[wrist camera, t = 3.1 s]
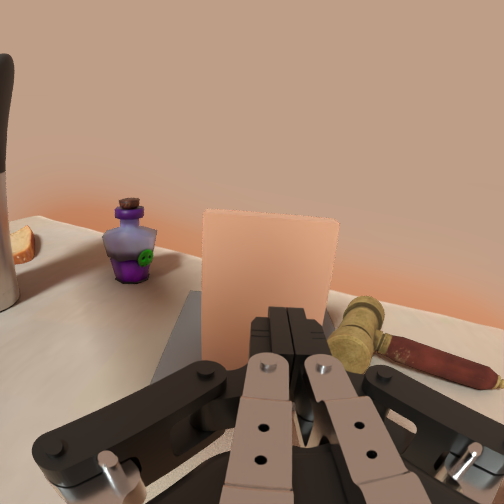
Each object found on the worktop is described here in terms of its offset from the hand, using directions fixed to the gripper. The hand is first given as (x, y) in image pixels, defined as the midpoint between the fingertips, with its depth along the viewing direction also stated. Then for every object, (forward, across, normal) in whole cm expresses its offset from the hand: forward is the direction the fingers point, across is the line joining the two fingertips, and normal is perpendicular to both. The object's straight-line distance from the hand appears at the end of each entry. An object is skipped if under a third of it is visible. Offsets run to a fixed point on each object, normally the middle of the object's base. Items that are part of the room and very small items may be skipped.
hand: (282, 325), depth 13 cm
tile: (+12, 0, +11) cm, 16 cm away
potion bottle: (+30, +19, +12) cm, 38 cm away
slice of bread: (+38, +51, +12) cm, 64 cm away
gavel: (+10, -17, +12) cm, 23 cm away
